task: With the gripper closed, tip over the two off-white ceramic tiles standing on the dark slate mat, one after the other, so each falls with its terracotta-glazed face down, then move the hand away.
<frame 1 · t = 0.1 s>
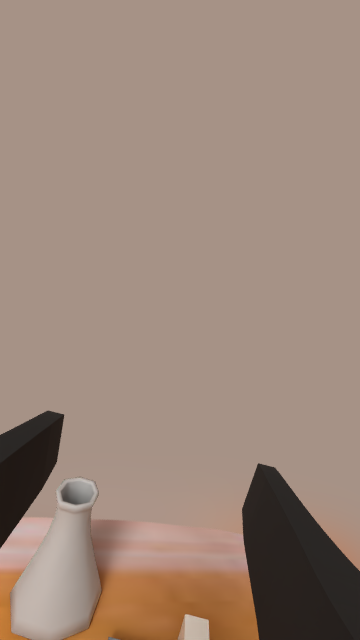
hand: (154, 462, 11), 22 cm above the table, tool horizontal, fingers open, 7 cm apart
flask: (56, 596, 26), on the table
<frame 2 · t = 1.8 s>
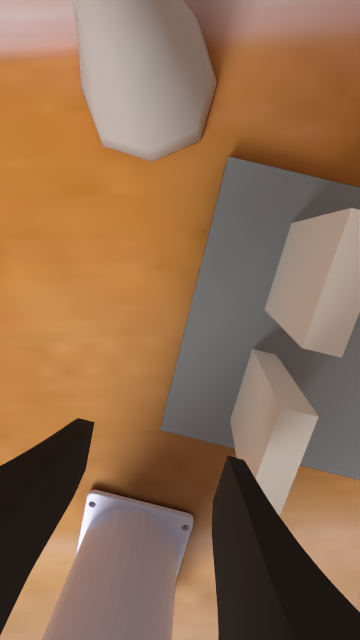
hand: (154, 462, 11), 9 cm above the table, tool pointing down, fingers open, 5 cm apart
slate mat: (316, 336, 19), on the table
flask: (149, 91, 17), on the table
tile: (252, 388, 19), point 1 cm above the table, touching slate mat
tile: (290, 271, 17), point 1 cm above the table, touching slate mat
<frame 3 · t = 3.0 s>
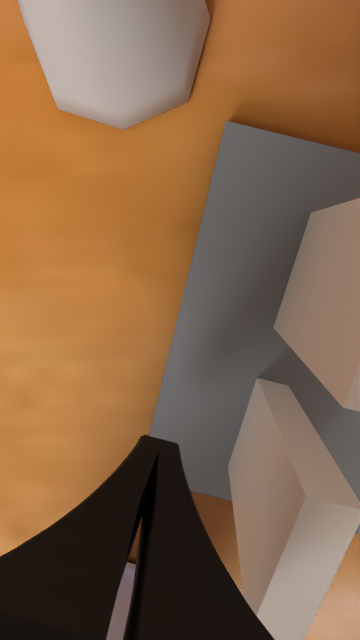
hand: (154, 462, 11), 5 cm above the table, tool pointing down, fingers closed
slate mat: (339, 361, 15), on the table
flask: (120, 34, 12), on the table
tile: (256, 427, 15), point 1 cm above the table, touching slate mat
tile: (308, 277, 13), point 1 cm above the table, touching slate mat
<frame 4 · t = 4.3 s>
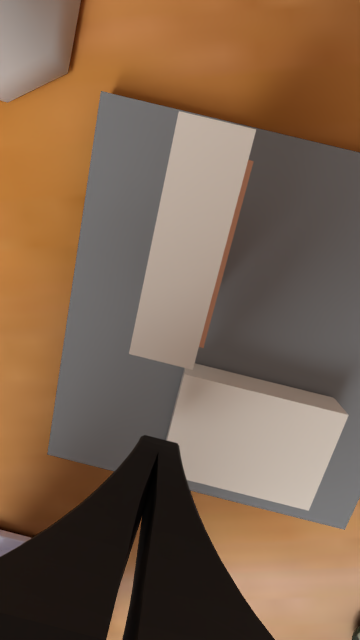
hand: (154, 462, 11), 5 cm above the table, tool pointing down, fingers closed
slate mat: (238, 336, 15), on the table
flask: (0, 6, 13), on the table
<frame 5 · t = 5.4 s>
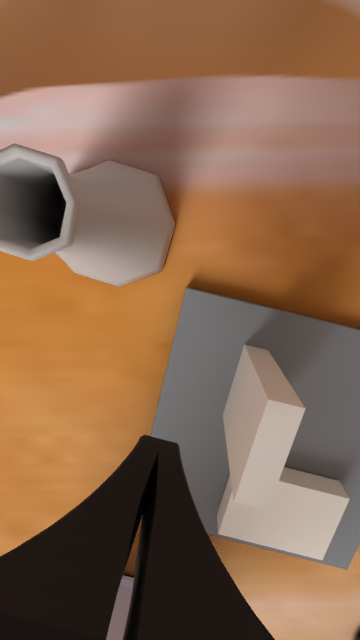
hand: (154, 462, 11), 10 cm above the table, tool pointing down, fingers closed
slate mat: (271, 435, 21), on the table
flask: (117, 226, 19), on the table
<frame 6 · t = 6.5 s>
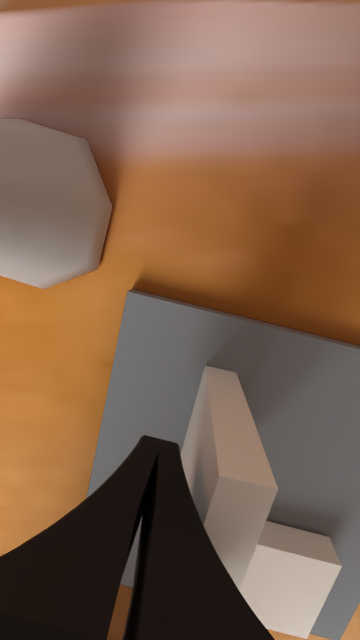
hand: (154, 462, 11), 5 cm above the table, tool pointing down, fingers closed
slate mat: (244, 477, 17), on the table
flask: (39, 210, 14), on the table
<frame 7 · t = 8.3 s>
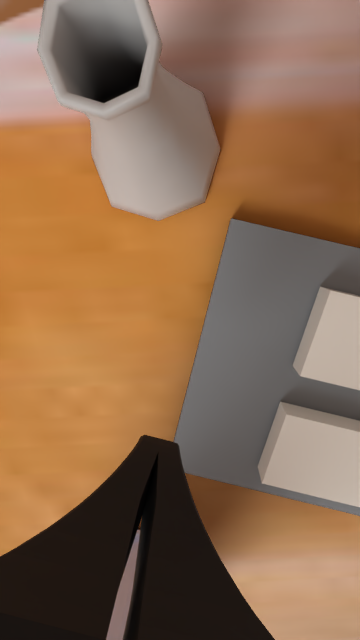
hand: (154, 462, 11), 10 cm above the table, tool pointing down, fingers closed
slate mat: (316, 381, 20), on the table
flask: (156, 155, 18), on the table
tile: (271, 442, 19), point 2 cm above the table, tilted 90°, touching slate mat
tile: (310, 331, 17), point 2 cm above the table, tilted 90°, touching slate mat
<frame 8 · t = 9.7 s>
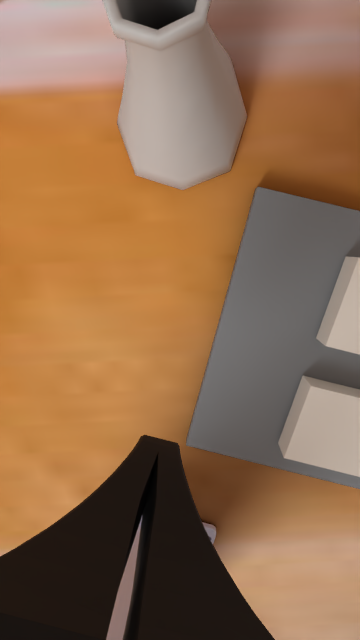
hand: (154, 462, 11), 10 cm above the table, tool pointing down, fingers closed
slate mat: (338, 356, 20), on the table
flask: (181, 123, 18), on the table
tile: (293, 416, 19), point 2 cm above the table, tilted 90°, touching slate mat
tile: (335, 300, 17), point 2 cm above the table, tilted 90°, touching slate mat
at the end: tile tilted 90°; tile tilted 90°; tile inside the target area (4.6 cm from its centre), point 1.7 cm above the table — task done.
